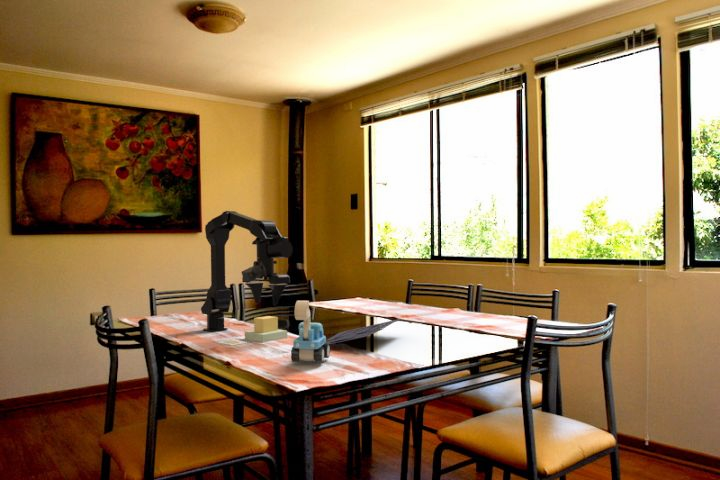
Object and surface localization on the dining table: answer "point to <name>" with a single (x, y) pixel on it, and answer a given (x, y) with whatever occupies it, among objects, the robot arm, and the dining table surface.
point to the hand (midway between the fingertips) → (266, 304)
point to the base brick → (265, 335)
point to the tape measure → (283, 323)
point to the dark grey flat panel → (358, 333)
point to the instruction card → (232, 342)
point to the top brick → (266, 324)
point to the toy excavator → (308, 337)
